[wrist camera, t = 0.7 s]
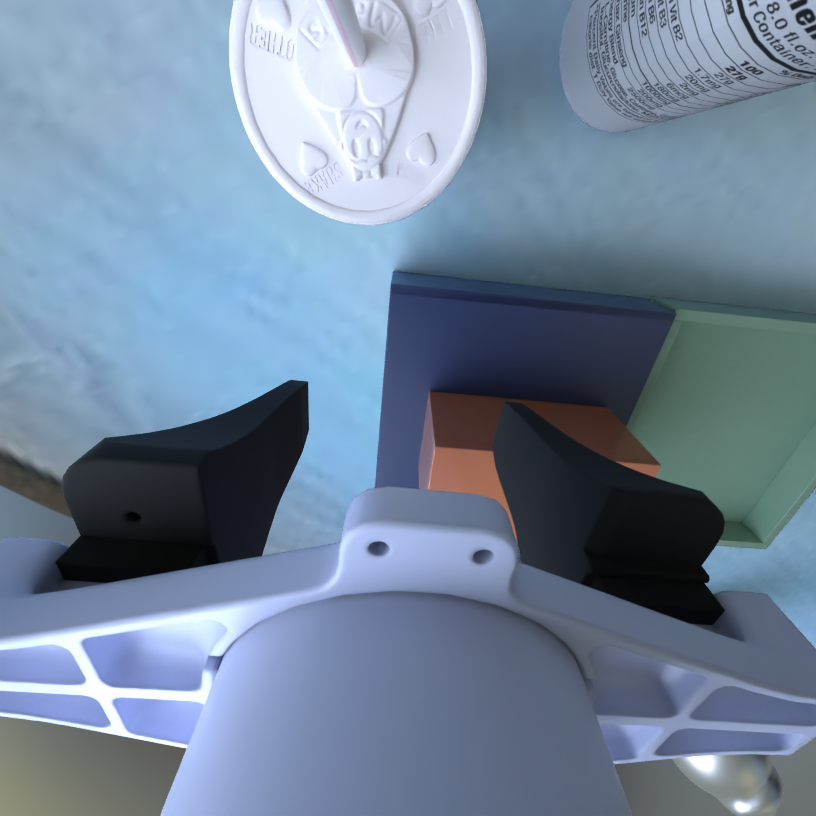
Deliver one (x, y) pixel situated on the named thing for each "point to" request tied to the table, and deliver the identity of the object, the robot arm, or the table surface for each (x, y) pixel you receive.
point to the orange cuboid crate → (475, 431)
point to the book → (507, 353)
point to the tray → (735, 413)
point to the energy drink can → (680, 56)
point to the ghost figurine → (737, 781)
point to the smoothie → (360, 98)
